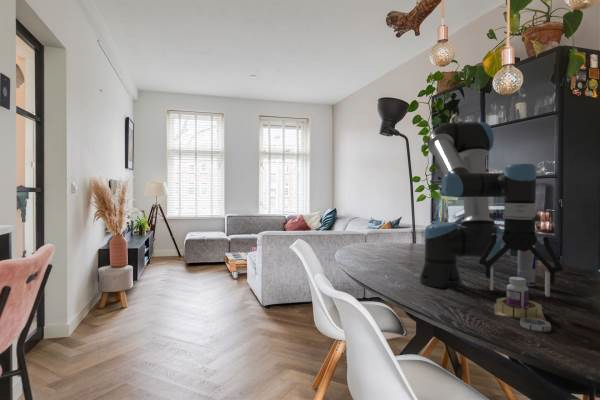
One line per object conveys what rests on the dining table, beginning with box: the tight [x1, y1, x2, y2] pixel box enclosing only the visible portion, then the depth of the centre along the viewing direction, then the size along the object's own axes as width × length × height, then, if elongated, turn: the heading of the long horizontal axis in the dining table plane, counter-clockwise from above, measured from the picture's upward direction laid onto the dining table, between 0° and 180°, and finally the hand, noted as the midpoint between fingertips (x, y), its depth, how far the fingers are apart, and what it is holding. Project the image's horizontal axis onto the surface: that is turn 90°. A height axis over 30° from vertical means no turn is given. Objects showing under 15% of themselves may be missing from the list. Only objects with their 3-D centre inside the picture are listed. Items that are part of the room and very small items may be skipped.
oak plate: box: [493, 303, 547, 321], centre depth 102 cm, size 12×11×1 cm
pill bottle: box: [506, 276, 530, 308], centre depth 102 cm, size 5×5×10 cm
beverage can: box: [517, 245, 536, 287], centre depth 134 cm, size 6×6×15 cm
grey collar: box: [519, 317, 552, 333], centre depth 90 cm, size 6×6×2 cm
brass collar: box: [495, 297, 543, 319], centre depth 102 cm, size 11×11×2 cm
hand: (518, 292), depth 101 cm, fingers open, 13 cm apart
